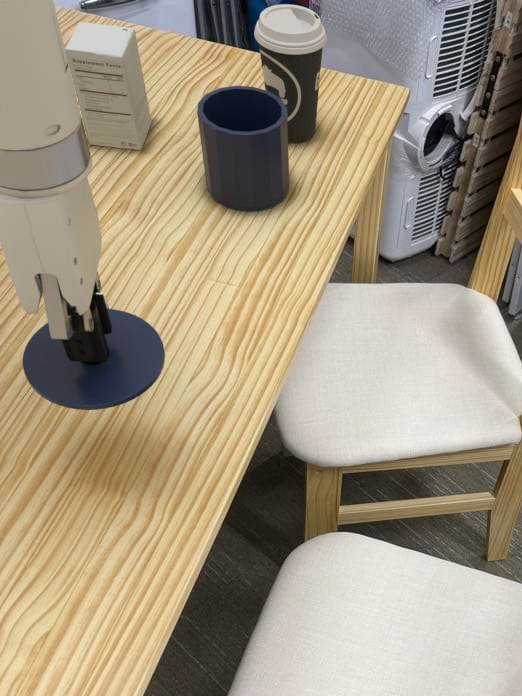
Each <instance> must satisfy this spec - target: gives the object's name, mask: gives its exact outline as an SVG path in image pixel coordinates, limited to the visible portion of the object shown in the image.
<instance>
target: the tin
mask: <svg viewBox="0 0 522 696" xmlns="http://www.w3.org/2000/svg"><path fill="white" fill-rule="evenodd" d="M196 113H197V122H198V131H199V139H200V146H201V152H202V162H203V169H204V178H205V184H206V187H207V191H208V194H209V196H210V197H211V198H212V199H213V200H214V201H215V202H217V204H219V205H222V206H223V207H225V208H228V209H231V210H235V211H239V212H240V211H242V212H260V211H264V210H269V209H272V208H274V207H277V206H278V205H280V204H281V203H282V202H283V201H284V200H286V198H287V197H288V195H289V192H290V161H289V160H290V159H289V158H290V157H289V143H288V119H287V107H286V105H285V104H284V102H283V101H282V100H281V98H279V97H277V96H276V95H274V94H272V93H271V92H269V91H266V90H265V89H263V88H259V87H256V86H249V85H247V86H246V85H232V86H231V85H230V86H224V87H220V88H216V89H215V90H212V91H210V92H207V93H206V94H204V95H203V97H201V99H200V100H199V101H198V103H197V111H196Z"/></svg>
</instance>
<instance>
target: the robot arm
mask: <svg viewBox="0 0 522 696" xmlns="http://www.w3.org/2000/svg"><path fill="white" fill-rule="evenodd" d="M65 48H66V47H65V44H64V39H63V36H62V31H61V28H60V22H59V18H58V14H57V11H56V5H55V2H54V0H0V246H1V250H2V253H3V256H4V259H5V263H6V266H7V269H8V272H9V274H10V278H11V281H12V284H13V288H14V289H15V293H16V296H17V299H18V302H19V304H20V306H21V309H22V310H23V311H24V312H25V314H29V315H32V314H33V315H38V313H39V308H40V303H41V300H42V296H43V301H44V307H45V313H46V319H47V323H48V325H49V330H50V336H51V338H52V339H53V340H62V343H63V345H64V348H65V351H66V354H67V357H68V359H69V360H71V361H87V362H105V361H106V360H107V351H106V348H105V345H104V341H103V338H102V334H101V331H100V327H99V324H98V323H95V322H93V318H92V314H91V311H90V303H91V299H92V300H93V301H94V302H95V303H96V306H97V310H98V313H99V317H100V320H101V324H102V327H103V331H104V334H110V333H111V332H112V324H111V321H110V317H109V313H108V310H107V306H106V302H105V299H104V295H105V294H104V295H102V294H96V293H100V292H102V282H101V279H100V274H99V271H98V268H99V265H100V258H101V252H102V242H103V241H102V230H101V224H100V220H99V215H98V214H99V213H98V211H97V207H96V202H95V199H94V196H93V192H92V188H91V184H90V183H89V179H88V177H89V176H90V174H91V171H92V169H93V168H92V167H93V158H92V154H91V150H90V147H89V141H88V137H87V133H86V129H85V126H84V122H83V118H82V114H81V110H80V106H79V103H78V99H77V95H76V91H75V87H74V83H73V79H72V75H71V71H70V67H69V63H68V59H67V55H66V51H65ZM67 308H75V312H78V314H79V315H80V316H74V315H68V312H67Z"/></svg>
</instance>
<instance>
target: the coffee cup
mask: <svg viewBox="0 0 522 696" xmlns="http://www.w3.org/2000/svg"><path fill="white" fill-rule="evenodd" d="M253 36H254V39H255V40H256V42H257V43H258V47H259V48H258V49H259V54H260V55H259V56H260V63H261V68H262V70H261V71H262V76H263V84H264V90H266V91H269V92H271V93H272V94H274V95H276V96H277V97H279V98H281V100H282V101H283V102H284V104H285V105H286V107H287V119H288V144H302V143H306V142H309V141H311V140H312V139H313V138H314V137H315V135H316V126H317V114H318V103H319V92H320V80H321V71H322V70H321V69H322V68H321V67H322V58H323V49H324V46H325V45H326V43H327V40H328V37H327V32H326V30H325V27H324V25H323V24H322V20H321V18H320V16H319V14H318V13H317V12H315V11H314V10H312V9H311V8H308V7H305V6H302V5H298V4H288V3H285V4H284V3H283V4H282V3H281V4H274V5H271V6H268V7H266V8H264V9H263V10H262V11H261V12H260V14H259V18H258V20H257V21H256V23H255V26H254V31H253Z"/></svg>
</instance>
